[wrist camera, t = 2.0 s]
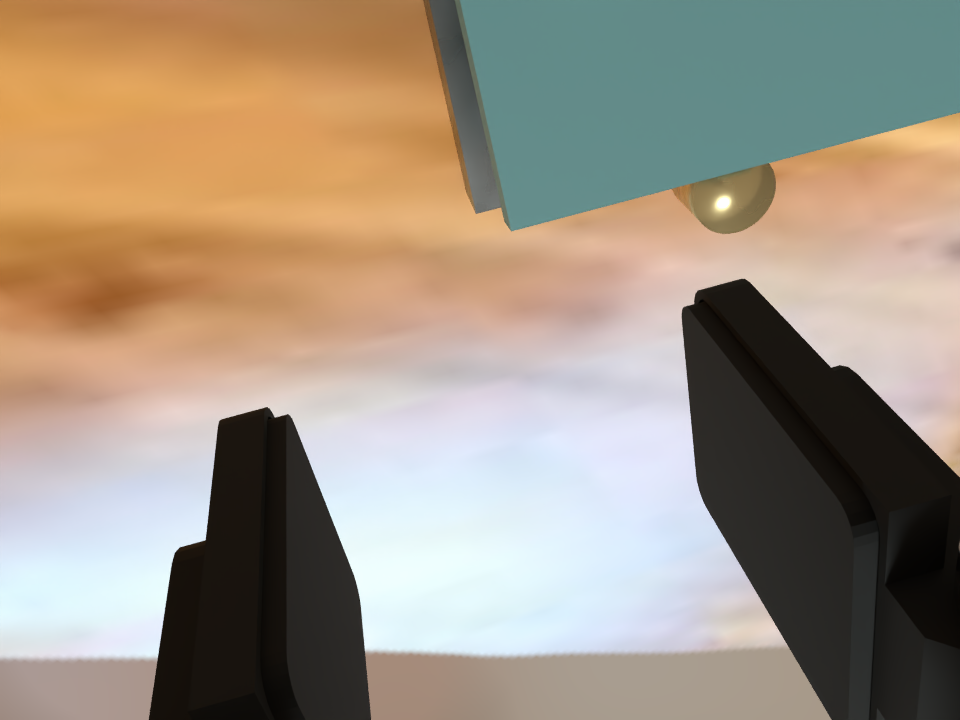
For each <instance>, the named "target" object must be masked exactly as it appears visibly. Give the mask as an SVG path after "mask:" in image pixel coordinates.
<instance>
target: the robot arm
mask: <svg viewBox="0 0 960 720" xmlns="http://www.w3.org/2000/svg"><path fill="white" fill-rule="evenodd" d="M682 326H683V337H684V348H685V359H686V370H687V380H688V391H689V402H690V413H691V424H692V434H693V445H694V456H695V467H696V477H697V483H698V487H699V491H700V494H701V497H702V499H703V502H704V504H705V506H706V508H707V509H708V511H709V513H710V515H711V516H712V518H713V520H714V521H715V523H716V525H717V526H718V528H719V530H720V531H721V533H722V535H723V537H724V538H725V540H726V542H727V543H728V545H729V547H730V548H731V550H732V552H733V553H734V555H735V557H736V559H737V560H738V562H739V564H740V565H741V567H742V569H743V570H744V572H745V574H746V575H747V577H748V579H749V581H750V582H751V584H752V586H753V587H754V589H755V591H756V592H757V594H758V596H759V597H760V599H761V601H762V603H763V604H764V606H765V608H766V609H767V611H768V613H769V614H770V616H771V618H772V619H773V621H774V623H775V625H776V626H777V628H778V630H779V631H780V633H781V635H782V636H783V638H784V640H785V641H786V643H787V645H788V647H789V648H790V650H791V652H792V653H793V655H794V657H795V658H796V660H797V662H798V663H799V665H800V667H801V669H802V670H803V672H804V673H805V675H806V677H807V679H808V680H809V682H810V684H811V685H812V687H813V689H814V691H815V692H816V694H817V696H818V697H819V699H820V701H821V702H822V704H823V706H824V707H825V709H826V711H827V713H828V714H829V716H830V718H831V719H832V720H960V477H959V476H958V475H957V474H956V473H955V472H954V471H953V470H952V469H951V468H950V467H949V466H948V465H947V464H946V463H945V462H944V461H943V460H942V459H941V458H940V457H939V456H938V455H937V454H936V453H935V452H934V451H933V450H932V449H931V448H930V447H929V446H928V445H927V444H926V443H925V442H924V441H923V440H922V439H921V438H920V437H919V436H918V435H917V434H916V433H915V432H914V431H913V430H912V429H911V428H910V427H909V426H908V425H907V424H906V423H905V422H904V421H903V420H902V419H901V418H900V417H899V416H898V415H897V414H896V413H895V412H894V411H893V410H892V409H891V408H890V407H889V406H888V405H887V404H886V403H885V402H884V401H883V400H882V399H881V397H880V396H879V395H878V394H877V393H876V392H875V391H874V390H873V389H872V388H871V387H870V386H869V385H868V384H867V383H866V382H865V381H864V380H863V379H862V378H861V377H860V376H859V375H858V374H857V373H855V372H854V371H853V370H851V369H850V368H849V367H846V366H841V365H839V366H836V367H832V368H831V367H830V366H829V365H828V364H827V363H826V362H825V361H824V360H823V359H822V358H821V357H820V356H819V355H818V353H817V352H816V351H815V350H814V349H813V348H812V347H811V346H810V345H809V344H808V343H807V342H806V341H805V340H804V339H803V338H802V337H801V336H800V335H799V334H798V332H797V331H796V330H795V329H794V328H793V327H792V326H791V325H790V324H789V323H788V322H787V321H786V320H785V319H784V318H783V317H782V316H781V315H780V314H779V313H778V311H777V310H776V309H775V308H774V307H773V306H772V305H771V304H770V303H769V302H768V301H767V300H766V299H765V298H764V297H763V296H762V295H761V294H760V293H759V292H758V291H757V289H756V288H755V287H754V286H753V285H752V284H751V283H750V282H749V281H747V280H746V279H739V280H735V281H732V282H728V283H724V284H721V285H717V286H713V287H710V288H706V289H702V290H698V291H697V293H696V294H695V300H694V304H693V305H690V306H686V307H684V308H683V310H682ZM149 720H371V714H370V703H369V692H368V681H367V670H366V659H365V648H364V638H363V627H362V616H361V605H360V598H359V593H358V589H357V584H356V581H355V578H354V575H353V572H352V569H351V567H350V564H349V562H348V559H347V557H346V554H345V552H344V549H343V546H342V544H341V541H340V539H339V536H338V534H337V531H336V529H335V526H334V524H333V521H332V518H331V516H330V513H329V511H328V508H327V506H326V503H325V501H324V498H323V496H322V493H321V491H320V488H319V485H318V483H317V480H316V478H315V475H314V473H313V470H312V468H311V465H310V463H309V460H308V457H307V455H306V452H305V450H304V447H303V445H302V442H301V440H300V437H299V435H298V432H297V430H296V427H295V425H294V422H293V420H292V418H291V417H290V415H288V414H287V415H284V416H280V417H276V418H275V417H274V415H273V413H272V412H271V410H270V409H269V408H268V407H266V408H262V409H258V410H255V411H251V412H247V413H244V414H240V415H236V416H232V417H229V418H225V419H222V420H220V421H219V425H218V432H217V441H216V450H215V460H214V469H213V478H212V488H211V497H210V506H209V516H208V525H207V534H206V540H205V541H202V542H198V543H195V544H191V545H187V546H184V547H180V548H179V549H178V550H177V551H176V552H175V555H174V558H173V562H172V567H171V574H170V580H169V587H168V594H167V601H166V607H165V614H164V621H163V628H162V634H161V641H160V648H159V654H158V661H157V668H156V675H155V682H154V688H153V695H152V702H151V708H150V715H149Z"/></svg>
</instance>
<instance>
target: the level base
mask: <svg viewBox="0 0 960 720" xmlns="http://www.w3.org/2000/svg"><path fill="white" fill-rule="evenodd" d="M423 1H424V5H425V10H426V14H427V19H428V23H429V28H430V32H431V37H432V41H433V46H434V50H435V54H436V59H437V63H438V68H439V72H440V77H441V81H442V86H443V90H444V95H445V99H446V104H447V108H448V113H449V117H450V121H451V126H452V130H453V135H454V139H455V144H456V148H457V153H458V157H459V162H460V166H461V171H462V175H463V180H464V184H465V188H466V193H467V195H468V197H469V199H470V202H471V204H472V206H473V208H474V210H475V213H476V214H477V213H481V212H485V211H489V210H492V209H496V208H500V207H501V204H500V199H499V195H498V190H497V186H496V181H495V177H494V173H493V168H492V164H491V159H490V155H489V150H488V146H487V141H486V137H485V133H484V128H483V124H482V119H481V115H480V110H479V106H478V101H477V97H476V93H475V88H474V84H473V79H472V75H471V70H470V66H469V61H468V57H467V53H466V48H465V44H464V39H463V35H462V30H461V26H460V21H459V17H458V13H457V8H456V4H455V0H423ZM775 189H776V180H775V175H774V172H773V169H772V168H771V166H770V164H769V163H767V164H763V165H759V166H756V167H752V168H748V169H744V170H741V171H737V172H733V173H729V174H725V175H722V176H718V177H714V178H710V179H707V180H703V181H699V182H695V183H692V184H688V185H684V186H680V187H676V188H673V189H672V190H673V192H674V194H675V196H676V197H677V198H678V199H679V200H680V202H681V203H682V204H683V205H684V206H685V207H686V208H687V209H688V210H689V211H690V212H691V213H692V214H693V215H694V216H695V217H696V218H697V219H698V220H699V221H700V222H701V223H702V224H703V225H704V226H705V227H706V228H708V229H709V230H711V231H714V232H717V233H722V234H730V233H736V232H739V231H742V230H744V229H747V228H748V227H750V226H752V225H753V224H755V223H756V222H757V221H758V220H759V219H760V218H761V217H762V216H763V215H764V214H765V213H766V211H767V210H768V208H769V207H770V205H771V203H772V200H773V198H774V194H775Z"/></svg>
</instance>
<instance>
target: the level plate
mask: <svg viewBox="0 0 960 720" xmlns="http://www.w3.org/2000/svg"><path fill="white" fill-rule="evenodd" d="M455 4H456V8H457V13H458V17H459V21H460V26H461V30H462V35H463V39H464V44H465V48H466V53H467V57H468V61H469V66H470V70H471V75H472V79H473V84H474V88H475V93H476V97H477V101H478V106H479V110H480V115H481V119H482V124H483V128H484V133H485V137H486V141H487V146H488V150H489V155H490V159H491V164H492V168H493V173H494V177H495V181H496V186H497V190H498V195H499V199H500V204H501V208H502V212H503V217H504V221H505V223H506V224H507V226H508V227H509V229H510V230H511V231H514V230H518V229H522V228H526V227H529V226H533V225H537V224H541V223H544V222H548V221H552V220H556V219H560V218H563V217H567V216H571V215H575V214H578V213H582V212H586V211H590V210H593V209H597V208H601V207H605V206H609V205H612V204H616V203H620V202H624V201H627V200H631V199H635V198H639V197H642V196H646V195H650V194H654V193H658V192H661V191H665V190H669V189H673V188H676V187H680V186H684V185H688V184H692V183H695V182H699V181H703V180H707V179H710V178H714V177H718V176H722V175H725V174H729V173H733V172H737V171H741V170H744V169H748V168H752V167H756V166H759V165H763V164H767V163H771V162H775V161H778V160H782V159H786V158H790V157H793V156H797V155H801V154H805V153H808V152H812V151H816V150H820V149H824V148H827V147H831V146H835V145H839V144H842V143H846V142H850V141H854V140H857V139H861V138H865V137H869V136H873V135H876V134H880V133H884V132H888V131H891V130H895V129H899V128H903V127H907V126H910V125H914V124H918V123H922V122H925V121H929V120H933V119H937V118H940V117H944V116H948V115H952V114H956V113H959V112H960V0H455Z"/></svg>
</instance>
